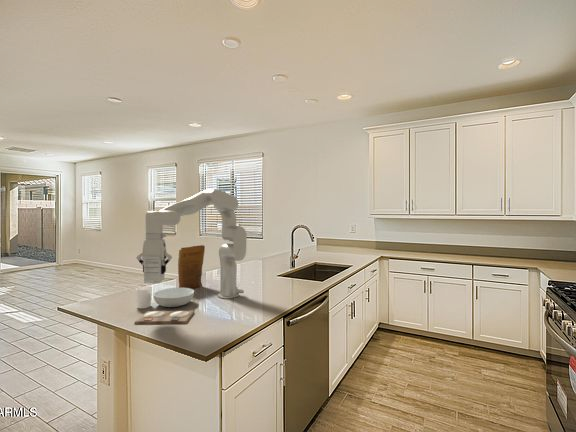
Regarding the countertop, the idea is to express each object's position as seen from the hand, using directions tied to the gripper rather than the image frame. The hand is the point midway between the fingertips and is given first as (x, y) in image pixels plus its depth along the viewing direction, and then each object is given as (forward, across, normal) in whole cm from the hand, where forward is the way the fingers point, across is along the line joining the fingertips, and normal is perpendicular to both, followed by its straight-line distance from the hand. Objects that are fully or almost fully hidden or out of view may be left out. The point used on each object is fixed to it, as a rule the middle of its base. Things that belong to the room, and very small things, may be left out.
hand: (154, 273), depth 145 cm
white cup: (+22, +12, -16) cm, 30 cm away
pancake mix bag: (+22, -3, -53) cm, 58 cm away
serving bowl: (+22, -3, -19) cm, 29 cm away
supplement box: (+4, 0, 0) cm, 4 cm away
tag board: (+21, -6, +2) cm, 22 cm away
